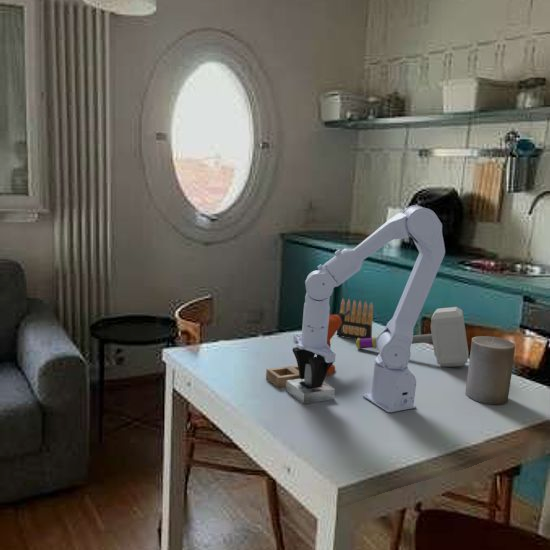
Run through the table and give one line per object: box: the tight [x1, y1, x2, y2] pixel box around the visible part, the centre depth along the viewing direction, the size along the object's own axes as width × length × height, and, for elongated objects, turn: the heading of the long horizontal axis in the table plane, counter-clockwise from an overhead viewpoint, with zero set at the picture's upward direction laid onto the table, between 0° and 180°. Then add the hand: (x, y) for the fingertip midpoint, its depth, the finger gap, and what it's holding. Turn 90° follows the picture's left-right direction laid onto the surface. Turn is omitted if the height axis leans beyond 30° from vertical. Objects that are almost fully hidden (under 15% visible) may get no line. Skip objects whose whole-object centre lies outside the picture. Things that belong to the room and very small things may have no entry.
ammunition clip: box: [336, 298, 374, 340], centre depth 174 cm, size 11×2×12 cm, turn 69°
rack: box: [265, 364, 300, 388], centre depth 136 cm, size 12×6×2 cm, turn 118°
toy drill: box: [325, 309, 351, 377], centre depth 146 cm, size 5×19×15 cm, turn 148°
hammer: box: [355, 306, 470, 368], centre depth 159 cm, size 15×8×30 cm
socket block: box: [285, 379, 336, 405], centre depth 128 cm, size 8×8×2 cm
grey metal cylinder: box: [304, 361, 313, 389], centre depth 128 cm, size 3×3×8 cm
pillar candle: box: [465, 335, 516, 406], centre depth 133 cm, size 10×10×15 cm
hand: (310, 382), depth 128 cm, fingers open, 5 cm apart
